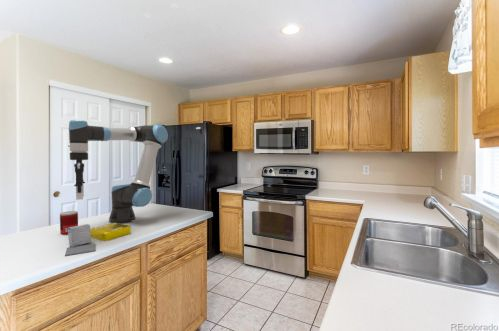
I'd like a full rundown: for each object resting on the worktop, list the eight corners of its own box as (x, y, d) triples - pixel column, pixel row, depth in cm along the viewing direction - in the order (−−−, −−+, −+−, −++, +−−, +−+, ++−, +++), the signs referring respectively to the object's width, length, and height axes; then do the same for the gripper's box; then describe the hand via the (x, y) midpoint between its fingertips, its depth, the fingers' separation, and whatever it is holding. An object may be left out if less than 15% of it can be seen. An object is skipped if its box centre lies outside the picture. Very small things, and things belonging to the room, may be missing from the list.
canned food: (81, 230, 140) (81, 211, 140) (67, 235, 133) (67, 214, 132) (71, 229, 142) (70, 210, 142) (56, 234, 135) (56, 213, 134)
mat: (95, 244, 120) (95, 243, 120) (95, 251, 112) (95, 250, 112) (67, 248, 115) (67, 247, 115) (64, 256, 107) (64, 255, 107)
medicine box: (88, 241, 124) (86, 224, 124) (91, 242, 121) (90, 224, 121) (69, 246, 118) (67, 227, 118) (72, 247, 115) (70, 228, 115)
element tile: (105, 242, 124) (104, 232, 124) (88, 237, 132) (87, 228, 132) (132, 233, 138) (132, 225, 137) (115, 229, 145) (115, 221, 145)
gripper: (71, 151, 131) (72, 195, 132) (67, 152, 113) (69, 202, 114) (88, 151, 135) (89, 194, 136) (87, 152, 117) (88, 200, 118)
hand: (80, 197), depth 125 cm, fingers open, 8 cm apart
